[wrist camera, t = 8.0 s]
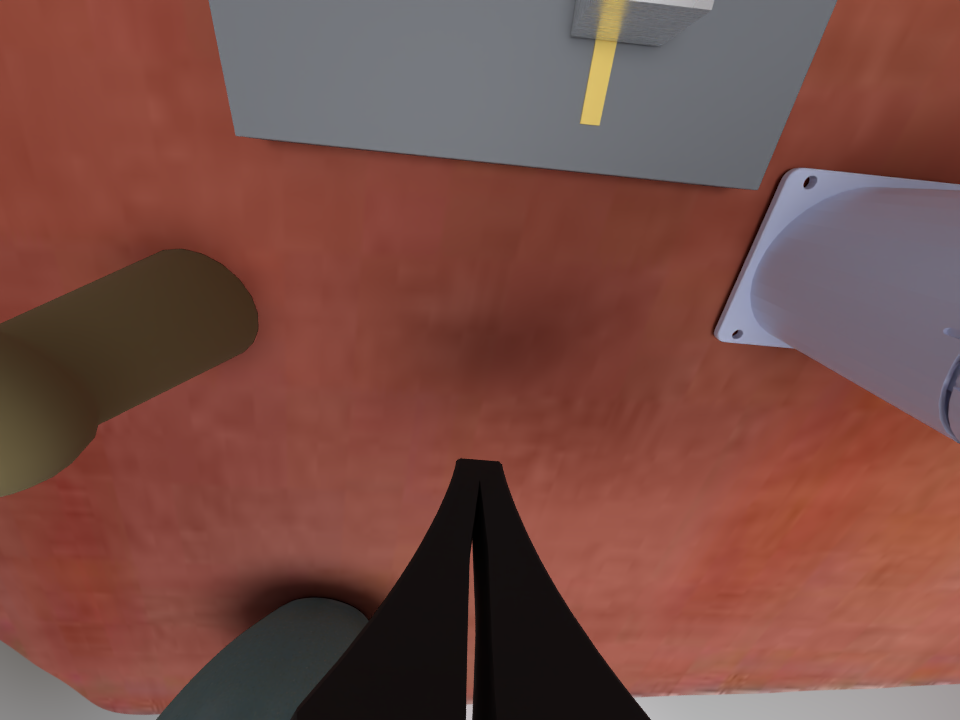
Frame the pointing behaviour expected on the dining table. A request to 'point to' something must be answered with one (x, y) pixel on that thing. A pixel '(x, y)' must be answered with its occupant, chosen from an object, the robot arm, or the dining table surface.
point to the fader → (636, 19)
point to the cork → (111, 355)
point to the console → (521, 83)
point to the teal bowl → (270, 664)
